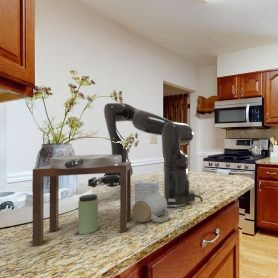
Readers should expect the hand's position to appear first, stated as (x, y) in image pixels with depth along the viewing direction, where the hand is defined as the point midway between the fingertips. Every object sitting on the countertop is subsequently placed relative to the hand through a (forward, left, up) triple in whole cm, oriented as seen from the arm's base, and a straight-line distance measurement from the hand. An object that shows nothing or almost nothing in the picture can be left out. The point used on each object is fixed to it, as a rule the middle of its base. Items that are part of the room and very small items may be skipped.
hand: (106, 183), depth 79 cm
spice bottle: (0, +22, -9) cm, 24 cm away
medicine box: (-14, +1, -9) cm, 17 cm away
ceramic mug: (-17, +20, -9) cm, 28 cm away
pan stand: (0, +25, -9) cm, 27 cm away
